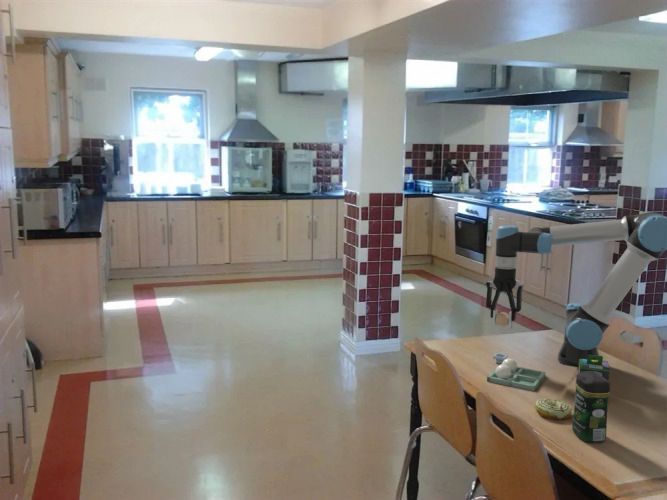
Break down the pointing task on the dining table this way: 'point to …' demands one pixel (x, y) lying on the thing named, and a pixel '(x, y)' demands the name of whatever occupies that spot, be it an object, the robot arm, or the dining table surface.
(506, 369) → the cream egg
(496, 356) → the egg cup
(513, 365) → the cream egg
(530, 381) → the carton
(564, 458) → the dining table surface
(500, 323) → the brown egg
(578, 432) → the coffee jar
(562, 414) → the decorated donut
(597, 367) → the chalk box
